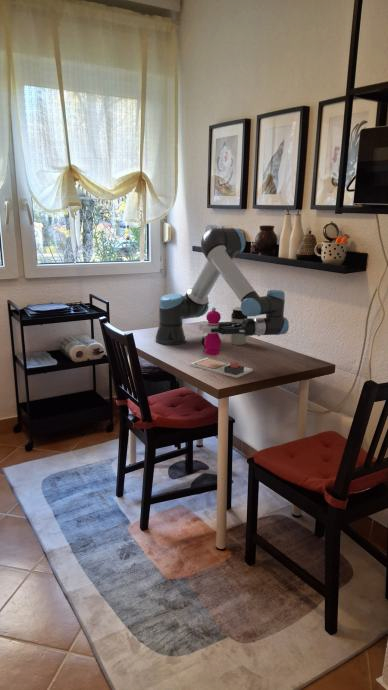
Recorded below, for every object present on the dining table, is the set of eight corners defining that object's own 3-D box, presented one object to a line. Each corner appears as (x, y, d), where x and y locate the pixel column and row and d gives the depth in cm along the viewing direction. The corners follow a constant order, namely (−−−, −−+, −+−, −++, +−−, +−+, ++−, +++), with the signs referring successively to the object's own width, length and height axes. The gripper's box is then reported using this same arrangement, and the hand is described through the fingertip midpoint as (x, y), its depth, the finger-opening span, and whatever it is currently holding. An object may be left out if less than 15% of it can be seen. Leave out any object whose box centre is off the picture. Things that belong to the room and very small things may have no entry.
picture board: (206, 359, 226) (207, 352, 225) (252, 371, 212) (253, 363, 211) (190, 365, 217) (190, 358, 216) (236, 378, 202) (237, 370, 202)
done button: (233, 366, 209) (233, 361, 208) (240, 368, 207) (240, 363, 206) (228, 368, 206) (228, 363, 205) (235, 370, 204) (235, 365, 203)
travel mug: (228, 344, 253) (229, 308, 248) (232, 340, 260) (234, 306, 256) (243, 346, 250) (245, 310, 246) (247, 342, 258) (249, 307, 253)
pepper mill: (219, 356, 212) (221, 309, 206) (202, 355, 213) (203, 308, 208) (221, 351, 218) (223, 306, 213) (205, 350, 220) (206, 305, 214)
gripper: (260, 340, 210) (206, 342, 204) (245, 330, 227) (195, 332, 221) (261, 322, 208) (207, 324, 202) (246, 314, 225) (195, 315, 219)
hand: (201, 328), depth 211 cm, fingers closed on pepper mill, 5 cm apart
